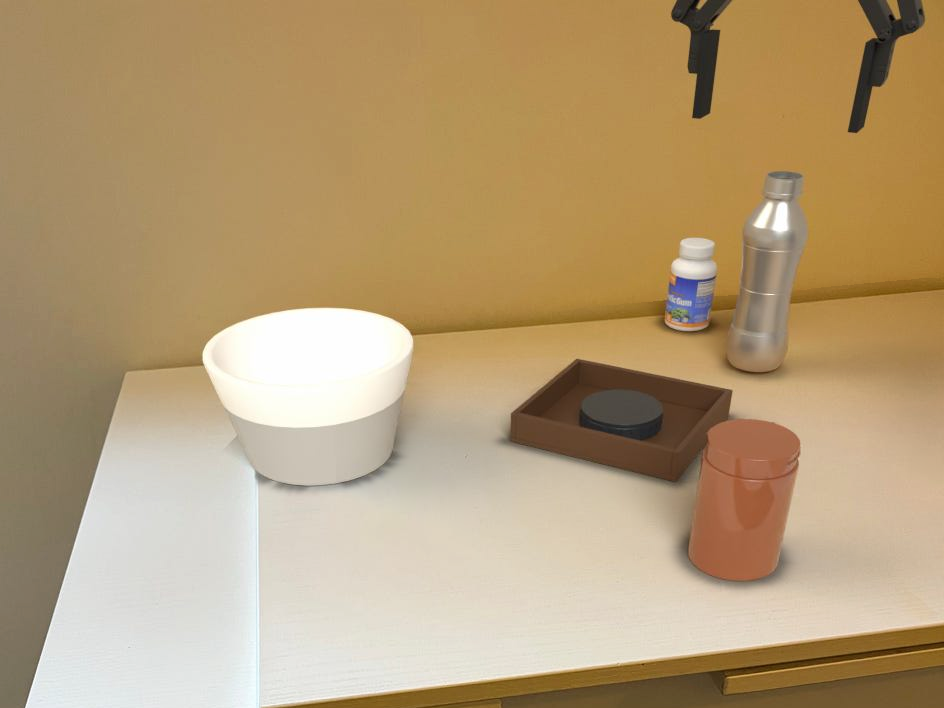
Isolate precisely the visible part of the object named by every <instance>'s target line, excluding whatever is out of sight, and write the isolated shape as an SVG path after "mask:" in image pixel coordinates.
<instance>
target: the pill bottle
mask: <svg viewBox="0 0 944 708" xmlns="http://www.w3.org/2000/svg"><path fill="white" fill-rule="evenodd" d="M715 247H716V243H715V241H713V240H711V239H709V238H704V237H687V238H684V239H682V240H681V241H680V243H679V249H678V255H679V257H676V258H675V259H674V260H673V262H672V263H671V266H670V272H669V280H668V289H667V295H666V296H667V298H666V306H665V313H664V323H665V325H666V326H667V327H669V328H671V329H672V330H676V331H680V332H698V331H701V330H705V329H706V328H707V327H708V326H709V324H710V319H711V314H712V306H713V299H714V293H715V287H716V281H717V274H718V273H717V272H718V265H717V263H716V262H715V261H714V260H713V259H712V258H713V257H714V254H715Z"/></svg>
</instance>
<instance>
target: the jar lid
mask: <svg viewBox="0 0 944 708" xmlns="http://www.w3.org/2000/svg"><path fill="white" fill-rule="evenodd" d="M579 421H580V426H581V427H583V428H588V429H592V430H596V431H601V432H605V433H609V434H614V435H618V436H622V437H627V438H631V439H635V440H639V441H642V440H645V439H648V438H651V437H653V436H655V435H656V434H657V433H658V432H659V431H660V430H661V425H662V421H663V406H662V404H661V403H660V402H659V401H658V400H657V399H656V398H654V397H652V396H650V395H648V394H645V393H642V392H637V391H632V390H606V391H600V392H597V393H594V394H591V395H589V396H587V397H586V398H585V399H584V400H583V401H582V403H581V409H580V415H579Z"/></svg>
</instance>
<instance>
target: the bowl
mask: <svg viewBox="0 0 944 708" xmlns="http://www.w3.org/2000/svg"><path fill="white" fill-rule="evenodd" d="M414 343H415V341H414V338H413V336H412V334H411V331H410V330H409V329H408V328H407V327H405V326H404V325H403V324H402V323H400V322H398V321H397V320H395V319H393V318H392V317H388V316H386V315H382V314H380V313H377V312H376V313H375V312H371V311H366V310H361V309H352V308H342V307H341V308H340V307H307V308H306V307H305V308H295V309H287V310H282V311H275V312H270V313H266V314H262V315H258V316H254V317H251V318H247V319H245V320H242V321H239V322H236V323H235V324H232V325H230V326H228V327H226V328H224V329H222V330H221V331H219V332H218V333H216V334H215V335H213V336H212V337H211V339H210V340H208V341H207V343H206V344H205V347H204V349H203V350H202V364H203V366H204V367H205V370H206V372H207V375H208V376H209V377H208V378H210V381H211V383H212V385H213V387H214V389H215V392H216V394H217V396H218V398H219V400H220V402H221V404H222V406H223V408H224V411H225V412H226V414H227V416H228V419H229V421H230V423H231V426H232V428H233V429H234V432H235V434H236V436H237V438H238V440H239V443H240V444H241V446H242V449H243V451H244V453H245V455H246V458H247V460H248V462H249V464H250V465H251V467H252V468H253V469H254V471H256V472H257V473H258V474H259V475H261V476H263V477H265V478H267V479H269V480H273V481H275V482H278V483H283V484H289V485H294V486H297V485H298V486H305V487H306V486H327V485H334V484H335V485H336V484H339V483H344V482H349V481H352V480H355V479H359V478H362V477H364V476H366V475H368V474H371V473H373V472H375V471H376V470H377V469H379V468H380V467H382V466H383V465H384V464H385V463H386V462H387V461H388V460H389V459H390V457H391V455H392V453H393V450H394V446H395V440H396V435H397V431H398V425H399V422H400V421H399V420H400V416H401V411H402V406H403V400H404V396H405V392H406V388H407V383H408V378H409V373H410V368H411V363H412V358H413V353H414V347H415V345H414Z"/></svg>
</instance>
